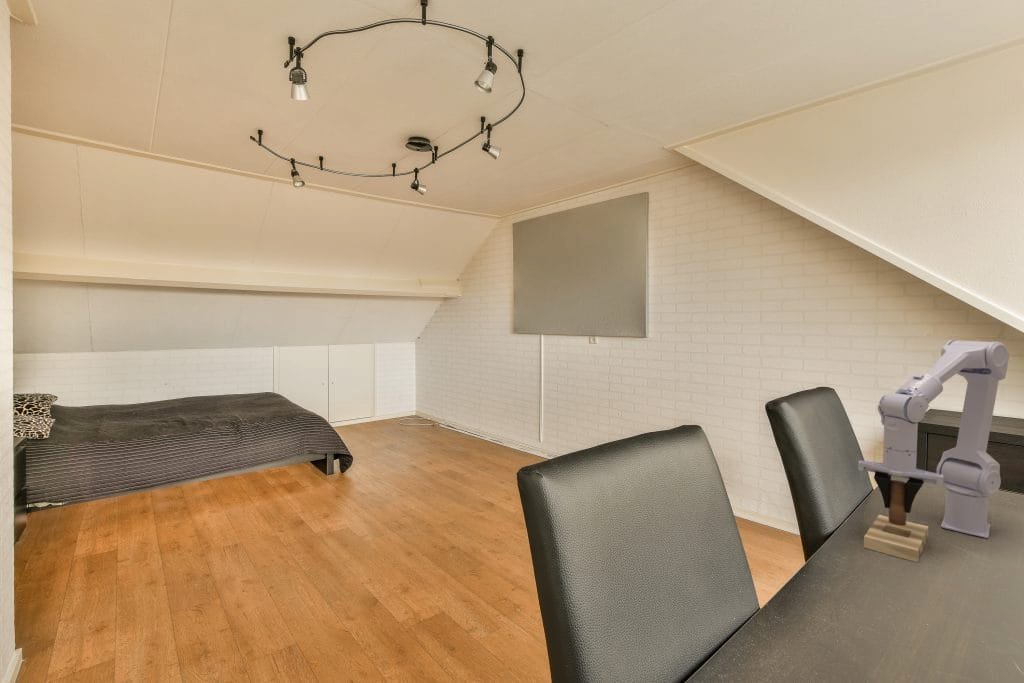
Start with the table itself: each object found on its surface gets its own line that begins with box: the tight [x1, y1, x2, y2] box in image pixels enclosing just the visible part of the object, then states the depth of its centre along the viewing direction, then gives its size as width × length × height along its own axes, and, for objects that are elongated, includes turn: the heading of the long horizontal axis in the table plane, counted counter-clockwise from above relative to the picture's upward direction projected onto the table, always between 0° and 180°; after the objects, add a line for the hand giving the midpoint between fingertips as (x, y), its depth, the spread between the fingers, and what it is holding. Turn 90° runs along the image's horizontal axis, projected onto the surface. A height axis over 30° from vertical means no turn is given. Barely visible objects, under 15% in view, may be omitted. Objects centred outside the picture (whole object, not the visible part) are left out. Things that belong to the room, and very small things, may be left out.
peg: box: [888, 479, 907, 526], centre depth 107 cm, size 3×3×9 cm
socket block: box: [863, 514, 929, 563], centre depth 107 cm, size 16×9×2 cm, turn 134°
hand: (897, 509), depth 107 cm, fingers closed on peg, 3 cm apart
